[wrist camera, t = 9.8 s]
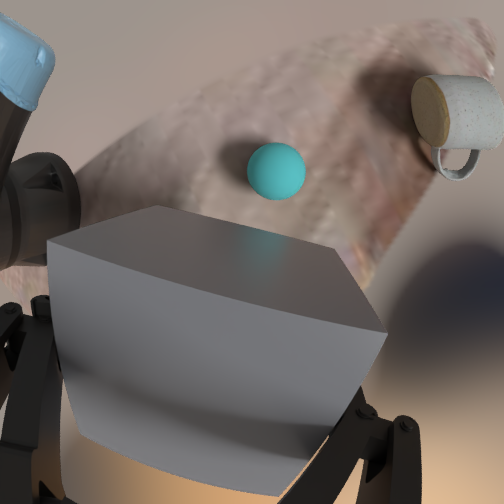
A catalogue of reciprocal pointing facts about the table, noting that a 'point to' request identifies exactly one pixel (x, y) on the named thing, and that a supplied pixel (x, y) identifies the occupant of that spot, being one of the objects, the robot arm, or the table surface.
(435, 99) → the ceramic mug
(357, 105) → the table surface
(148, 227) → the grey cube
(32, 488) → the robot arm
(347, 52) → the table surface
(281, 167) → the ball
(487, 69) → the table surface
